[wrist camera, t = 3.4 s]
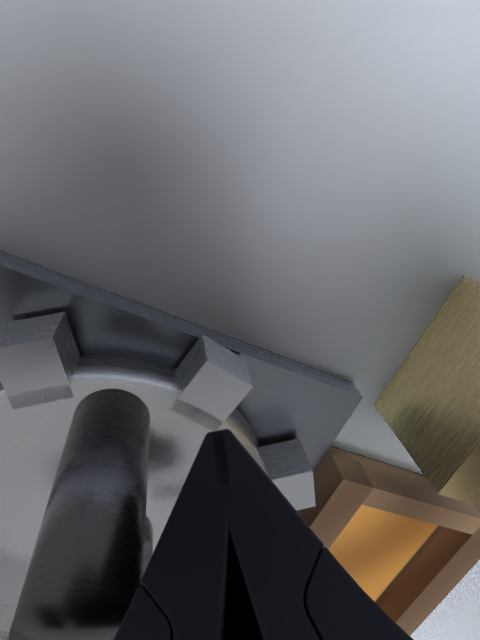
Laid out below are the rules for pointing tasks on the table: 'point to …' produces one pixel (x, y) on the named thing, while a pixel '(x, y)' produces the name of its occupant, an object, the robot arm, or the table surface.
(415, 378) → the tan rectangular block
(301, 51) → the table surface
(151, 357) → the sprocket base
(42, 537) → the sprocket
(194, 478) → the robot arm
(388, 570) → the brown open tray
